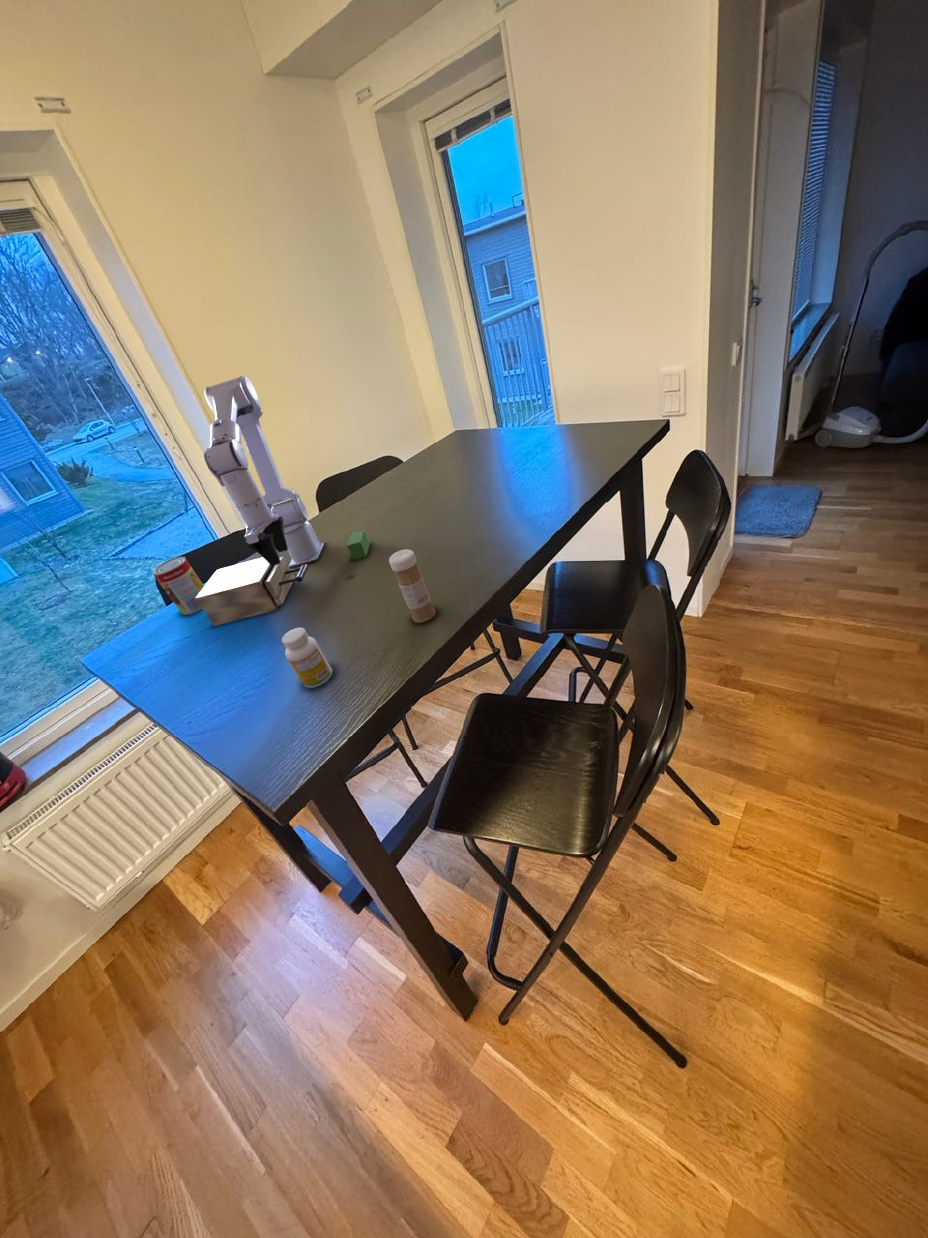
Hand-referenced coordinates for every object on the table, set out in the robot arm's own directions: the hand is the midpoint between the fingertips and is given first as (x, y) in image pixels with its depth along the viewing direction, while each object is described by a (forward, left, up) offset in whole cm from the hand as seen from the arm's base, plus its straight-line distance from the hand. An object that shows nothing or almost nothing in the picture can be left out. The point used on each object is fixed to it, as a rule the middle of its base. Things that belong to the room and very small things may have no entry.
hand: (279, 557), depth 109 cm
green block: (-13, +14, -9) cm, 21 cm away
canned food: (-7, -29, -10) cm, 32 cm away
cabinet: (0, -11, -9) cm, 15 cm away
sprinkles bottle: (+23, +32, -10) cm, 40 cm away
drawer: (0, -6, -9) cm, 11 cm away
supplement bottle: (+34, +13, -10) cm, 38 cm away
